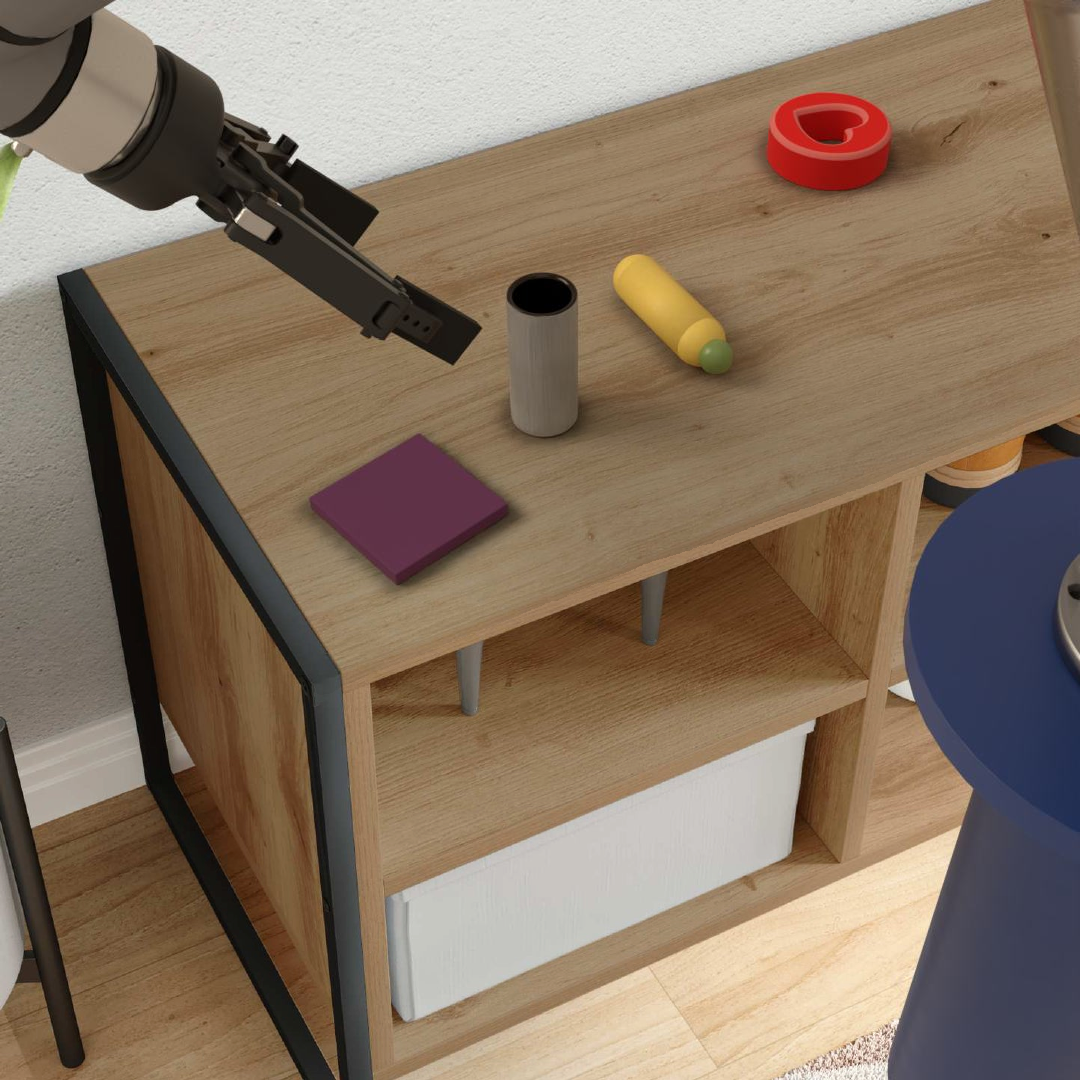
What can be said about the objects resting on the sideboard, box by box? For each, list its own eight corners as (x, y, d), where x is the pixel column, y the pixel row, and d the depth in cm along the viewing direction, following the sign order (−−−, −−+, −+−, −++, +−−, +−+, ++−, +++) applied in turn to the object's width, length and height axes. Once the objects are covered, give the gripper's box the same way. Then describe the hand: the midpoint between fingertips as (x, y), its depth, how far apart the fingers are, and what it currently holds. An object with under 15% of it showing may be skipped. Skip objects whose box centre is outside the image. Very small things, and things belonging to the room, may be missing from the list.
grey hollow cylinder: (564, 444, 104) (563, 322, 97) (501, 429, 105) (495, 307, 98) (587, 401, 107) (587, 279, 100) (524, 387, 108) (520, 265, 101)
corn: (745, 377, 109) (749, 337, 106) (702, 395, 108) (705, 354, 105) (645, 278, 117) (646, 238, 114) (603, 294, 115) (604, 253, 113)
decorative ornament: (771, 119, 131) (775, 85, 129) (889, 129, 130) (894, 95, 127) (761, 184, 125) (765, 149, 122) (884, 195, 123) (890, 160, 121)
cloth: (508, 514, 100) (508, 503, 99) (396, 585, 96) (395, 574, 95) (420, 443, 105) (419, 432, 104) (310, 508, 101) (308, 497, 100)
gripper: (5, 66, 85) (292, 230, 101) (158, 300, 70) (470, 452, 85) (81, -50, 83) (361, 136, 99) (256, 163, 68) (556, 344, 83)
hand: (412, 282), depth 92 cm, fingers open, 13 cm apart
